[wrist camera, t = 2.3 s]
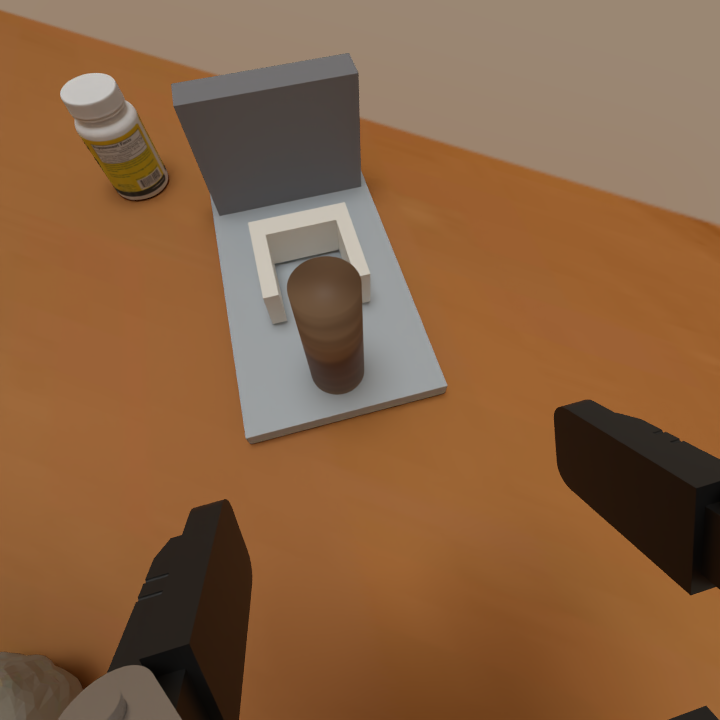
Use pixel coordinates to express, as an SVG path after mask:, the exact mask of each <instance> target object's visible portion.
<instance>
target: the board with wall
mask: <svg viewBox="0 0 720 720" xmlns="http://www.w3.org/2000/svg"><path fill="white" fill-rule="evenodd" d="M171 86H172V96H173V106H174V108H175V111H176V113H177V116H178V118H179V120H180V123H181V125H182V128H183V130H184V132H185V135H186V137H187V139H188V142H189V144H190V147H191V149H192V151H193V154H194V156H195V159H196V161H197V163H198V166H199V168H200V170H201V173H202V175H203V178H204V180H205V182H206V185H207V187H208V190H209V192H210V197H211V204H212V210H213V217H214V224H215V231H216V238H217V245H218V251H219V258H220V265H221V272H222V279H223V286H224V292H225V299H226V306H227V313H228V320H229V327H230V333H231V340H232V347H233V354H234V361H235V368H236V374H237V381H238V388H239V395H240V402H241V408H242V415H243V422H244V429H245V436H246V439H247V440H248V441H249V443H250V444H253V443H257V442H261V441H265V440H268V439H272V438H276V437H280V436H284V435H287V434H291V433H295V432H299V431H303V430H306V429H310V428H314V427H318V426H321V425H325V424H329V423H333V422H337V421H340V420H344V419H348V418H352V417H356V416H359V415H363V414H367V413H371V412H375V411H378V410H382V409H386V408H390V407H393V406H397V405H401V404H405V403H409V402H412V401H416V400H420V399H424V398H428V397H431V396H435V395H439V394H443V393H445V390H446V388H447V384H446V381H445V379H444V376H443V374H442V371H441V369H440V366H439V364H438V361H437V359H436V356H435V354H434V351H433V349H432V346H431V344H430V341H429V339H428V336H427V334H426V331H425V329H424V326H423V324H422V321H421V319H420V316H419V314H418V311H417V309H416V306H415V304H414V301H413V299H412V296H411V294H410V291H409V289H408V287H407V284H406V282H405V279H404V277H403V274H402V272H401V269H400V267H399V264H398V262H397V259H396V257H395V254H394V252H393V249H392V247H391V244H390V242H389V239H388V237H387V234H386V232H385V229H384V227H383V224H382V222H381V219H380V217H379V214H378V212H377V209H376V207H375V204H374V202H373V199H372V197H371V194H370V192H369V189H368V187H367V184H366V182H365V179H364V177H363V174H362V172H361V158H360V119H359V80H358V71H357V69H356V67H355V65H354V63H353V61H352V59H351V57H350V54H349V53H346V54H340V55H335V56H329V57H323V58H318V59H312V60H306V61H300V62H295V63H289V64H283V65H278V66H272V67H266V68H261V69H255V70H249V71H243V72H237V73H231V74H226V75H220V76H214V77H208V78H203V79H197V80H191V81H185V82H180V83H174V84H171ZM343 202H345V204H346V207H347V210H348V212H349V215H350V218H351V221H352V224H353V226H354V229H355V232H356V235H357V238H358V240H359V243H360V246H361V249H362V252H363V254H364V257H365V260H366V263H367V266H368V268H369V271H370V301H369V302H364V303H362V312H363V343H364V376H363V379H362V381H361V382H360V384H359V385H358V386H357V387H356V388H355V389H353V390H352V391H350V392H348V393H345V394H339V395H335V394H329V393H326V392H324V391H322V390H321V389H319V388H318V387H317V386H316V384H315V383H314V381H313V379H312V376H311V372H310V369H309V365H308V362H307V359H306V355H305V352H304V348H303V345H302V342H301V338H300V335H299V331H298V328H297V325H296V321H295V318H294V315H293V311H292V308H291V304H290V301H289V298H288V294H287V282H288V279H289V277H290V275H291V273H292V272H293V271H294V269H295V268H296V267H297V266H299V265H300V264H301V263H303V262H305V261H307V260H309V259H312V258H315V257H321V256H332V257H337V258H341V259H342V257H341V254H340V251H339V250H335V251H330V252H326V253H321V254H317V255H312V256H308V257H303V258H299V259H294V260H290V261H285V262H281V263H276V264H275V269H276V273H277V278H278V282H279V287H280V291H281V296H282V300H283V304H284V309H285V313H286V318H287V321H284V322H280V323H275V324H273V323H272V320H271V318H270V315H269V313H268V310H267V308H266V305H265V302H264V300H263V296H262V291H261V286H260V281H259V276H258V271H257V266H256V261H255V256H254V251H253V245H252V240H251V235H250V230H249V225H248V222H253V221H257V220H262V219H267V218H272V217H276V216H281V215H286V214H291V213H295V212H300V211H305V210H310V209H314V208H319V207H324V206H329V205H333V204H338V203H343Z"/></svg>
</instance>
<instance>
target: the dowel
mask: <svg viewBox="0 0 720 720" xmlns="http://www.w3.org/2000/svg"><path fill="white" fill-rule="evenodd" d="M287 294H288V298H289V301H290V304H291V308H292V311H293V315H294V318H295V321H296V325H297V328H298V331H299V335H300V338H301V342H302V345H303V348H304V352H305V355H306V359H307V362H308V365H309V369H310V372H311V376H312V379H313V381H314V383H315V384H316V386H317V387H318V388H319V389H321V390H322V391H324V392H326V393H329V394H335V395H339V394H345V393H348V392H350V391H352V390H353V389H355V388H356V387H357V386H358V385H359V384H360V382H361V381H362V379H363V376H364V343H363V312H362V282H361V277H360V275H359V273H358V271H357V270H356V268H355V267H354V266H353V265H352V264H350V263H349V262H347V261H345V260H343V259H341V258H337V257H332V256H321V257H315V258H312V259H309V260H307V261H305V262H303V263H301V264H300V265H299V266H297V267H296V268H295V269H294V271H293V272H292V273H291V275H290V277H289V279H288V282H287Z"/></svg>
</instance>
